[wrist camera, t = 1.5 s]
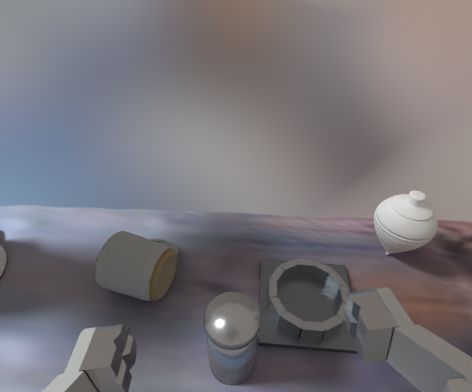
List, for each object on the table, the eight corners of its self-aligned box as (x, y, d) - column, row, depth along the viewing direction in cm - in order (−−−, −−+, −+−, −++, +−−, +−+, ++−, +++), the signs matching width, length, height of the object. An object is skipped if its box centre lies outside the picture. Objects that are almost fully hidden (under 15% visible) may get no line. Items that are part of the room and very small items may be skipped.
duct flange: (258, 344, 36) (260, 334, 34) (260, 261, 45) (262, 250, 43) (362, 353, 35) (369, 343, 33) (343, 267, 44) (348, 256, 42)
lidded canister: (205, 383, 33) (199, 342, 26) (212, 335, 36) (208, 288, 30) (254, 388, 32) (259, 347, 26) (255, 339, 36) (260, 292, 30)
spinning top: (357, 264, 45) (383, 204, 37) (363, 230, 50) (388, 170, 42) (414, 284, 42) (455, 223, 34) (414, 245, 47) (450, 185, 40)
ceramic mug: (159, 315, 38) (149, 279, 33) (102, 298, 40) (85, 262, 35) (191, 253, 46) (187, 216, 41) (143, 241, 48) (134, 204, 43)
